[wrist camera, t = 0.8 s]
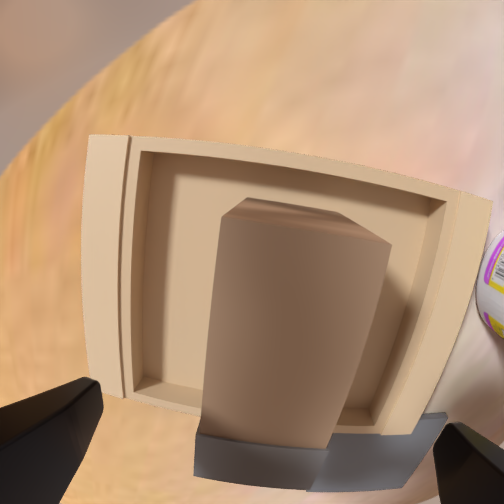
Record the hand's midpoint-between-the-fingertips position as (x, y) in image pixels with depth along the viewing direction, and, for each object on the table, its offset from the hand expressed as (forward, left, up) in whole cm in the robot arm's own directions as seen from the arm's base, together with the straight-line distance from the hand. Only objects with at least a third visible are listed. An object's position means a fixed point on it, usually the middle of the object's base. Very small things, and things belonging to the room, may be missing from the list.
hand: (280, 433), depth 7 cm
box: (0, 0, -9) cm, 9 cm away
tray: (0, 0, -9) cm, 9 cm away
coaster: (-9, +11, -9) cm, 17 cm away
